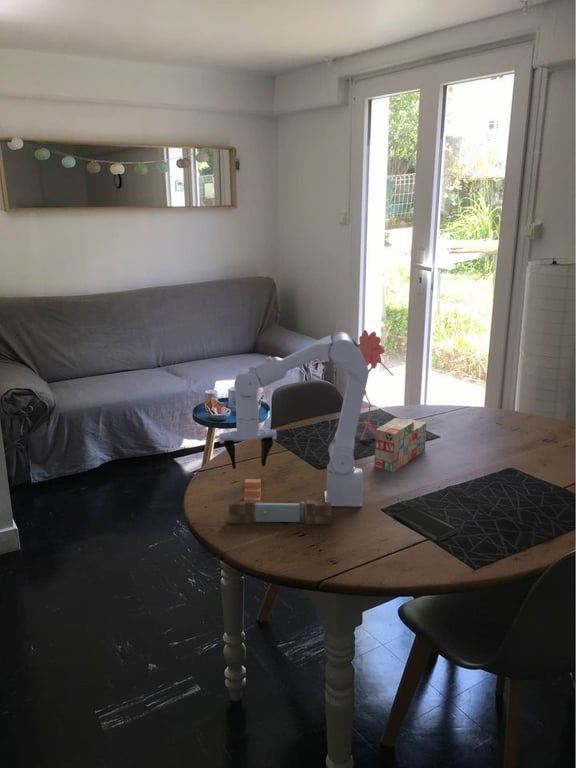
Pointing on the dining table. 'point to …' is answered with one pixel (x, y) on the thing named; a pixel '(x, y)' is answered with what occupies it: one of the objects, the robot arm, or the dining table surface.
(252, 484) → the orange block
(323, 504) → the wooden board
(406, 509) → the phone
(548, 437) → the dining table surface
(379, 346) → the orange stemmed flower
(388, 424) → the stack of blocks
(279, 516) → the door
